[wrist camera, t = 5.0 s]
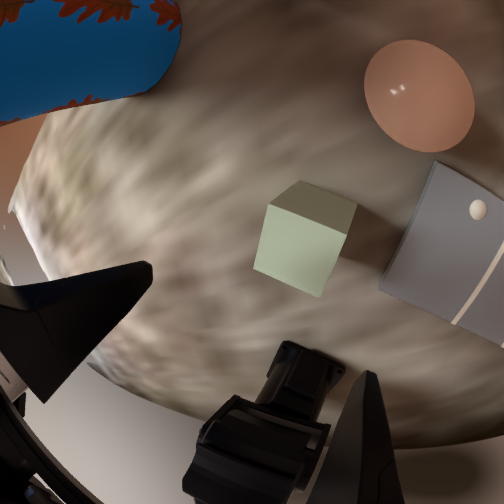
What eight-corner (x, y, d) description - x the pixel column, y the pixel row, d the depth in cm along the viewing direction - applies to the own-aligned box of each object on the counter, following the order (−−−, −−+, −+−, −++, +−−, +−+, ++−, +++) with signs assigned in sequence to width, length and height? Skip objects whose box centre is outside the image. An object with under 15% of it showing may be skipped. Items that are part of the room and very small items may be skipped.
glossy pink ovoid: (431, 152, 12) (456, 171, 8) (362, 123, 14) (351, 125, 9) (450, 85, 10) (483, 71, 5) (379, 56, 11) (375, 24, 7)
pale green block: (337, 255, 18) (319, 298, 14) (284, 233, 19) (253, 268, 16) (357, 203, 16) (347, 235, 12) (298, 180, 17) (268, 203, 13)
